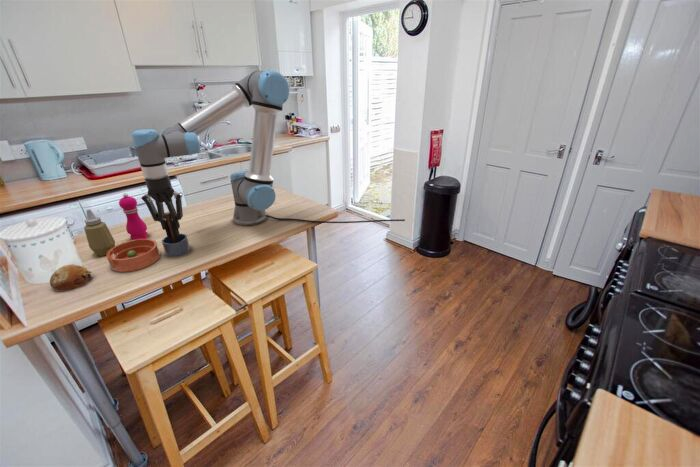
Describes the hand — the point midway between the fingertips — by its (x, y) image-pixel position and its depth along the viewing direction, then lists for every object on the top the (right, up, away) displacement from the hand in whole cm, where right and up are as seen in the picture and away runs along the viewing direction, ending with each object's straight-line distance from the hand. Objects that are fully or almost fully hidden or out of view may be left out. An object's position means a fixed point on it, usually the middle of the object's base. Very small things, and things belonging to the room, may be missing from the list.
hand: (173, 236), depth 121 cm
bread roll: (-25, -15, -15) cm, 33 cm away
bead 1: (-14, -7, -2) cm, 16 cm away
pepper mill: (-22, -1, +14) cm, 26 cm away
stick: (0, -6, +3) cm, 6 cm away
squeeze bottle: (-28, -6, +3) cm, 29 cm away
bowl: (-12, -9, -3) cm, 16 cm away
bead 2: (-10, -8, -5) cm, 14 cm away
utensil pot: (0, -6, +3) cm, 7 cm away
